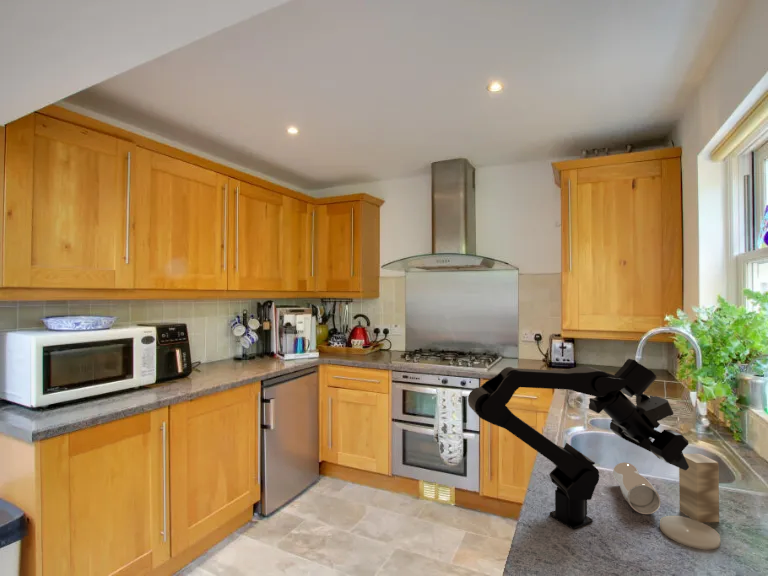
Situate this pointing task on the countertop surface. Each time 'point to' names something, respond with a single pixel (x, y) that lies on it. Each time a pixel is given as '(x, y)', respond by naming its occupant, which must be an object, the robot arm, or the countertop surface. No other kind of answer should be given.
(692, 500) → the wooden block
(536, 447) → the robot arm
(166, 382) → the countertop surface
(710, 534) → the saucer
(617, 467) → the beer glass
